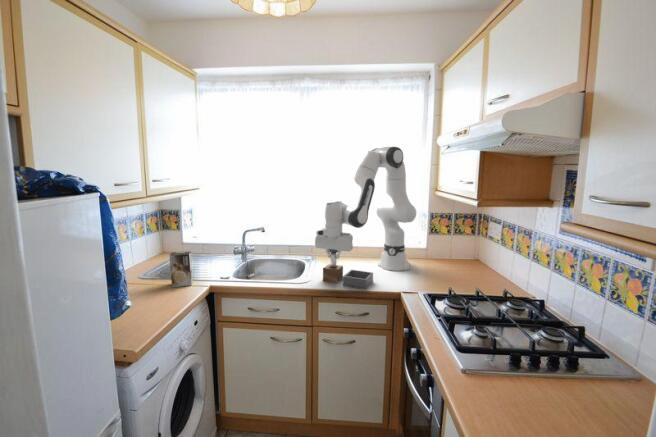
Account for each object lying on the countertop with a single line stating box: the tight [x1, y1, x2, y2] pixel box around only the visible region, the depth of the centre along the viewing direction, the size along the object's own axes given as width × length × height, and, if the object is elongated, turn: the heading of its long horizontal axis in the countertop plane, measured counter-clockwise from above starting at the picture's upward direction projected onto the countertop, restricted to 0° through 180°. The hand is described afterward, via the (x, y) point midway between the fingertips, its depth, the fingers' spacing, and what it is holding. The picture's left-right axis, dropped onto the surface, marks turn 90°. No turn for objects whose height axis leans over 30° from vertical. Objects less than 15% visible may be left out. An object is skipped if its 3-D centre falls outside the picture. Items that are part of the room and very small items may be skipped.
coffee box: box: [169, 251, 194, 288], centre depth 155 cm, size 9×6×16 cm
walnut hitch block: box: [322, 263, 344, 284], centre depth 165 cm, size 8×8×7 cm
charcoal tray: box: [342, 269, 374, 290], centre depth 159 cm, size 12×12×5 cm
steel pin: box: [329, 249, 339, 268], centre depth 164 cm, size 5×5×14 cm
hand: (333, 257), depth 164 cm, fingers closed on steel pin, 3 cm apart
